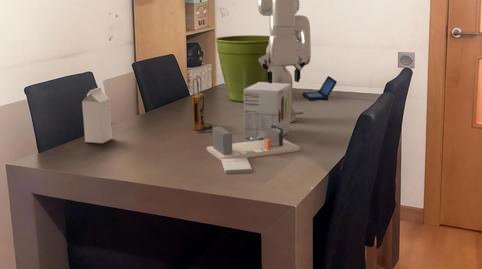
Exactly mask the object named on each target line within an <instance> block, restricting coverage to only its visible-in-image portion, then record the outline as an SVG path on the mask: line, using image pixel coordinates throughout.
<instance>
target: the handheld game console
mask: <svg viewBox="0 0 482 269" xmlns="http://www.w3.org/2000/svg"><path fill="white" fill-rule="evenodd" d="M337 83H338V82H337V80H336V79H334V78H333V77H331V76H327V77H326V79H325V80H324V81H323V83H322V85H321V87H320V88H319V89H318V90H317V91H306V92H302V93H301V94H302V96H303V98H305V99H306V100H307V101H308V100H309V101H308V102H317V101H316V100H323V101H328V100H329V96H330V95H331V93H332V91H334V89H335V87H336V86H337Z"/></svg>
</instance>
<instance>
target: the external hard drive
mask: <svg viewBox="0 0 482 269" xmlns="http://www.w3.org/2000/svg"><path fill="white" fill-rule="evenodd" d="M221 163H222V167H223V171H224V174H240V173H241V174H243V173H253V168H252V165H251V164H250V162H249V160H248V158H230V159H222V161H221Z"/></svg>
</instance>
